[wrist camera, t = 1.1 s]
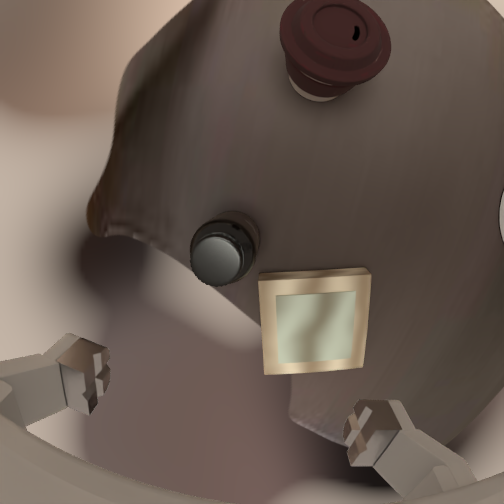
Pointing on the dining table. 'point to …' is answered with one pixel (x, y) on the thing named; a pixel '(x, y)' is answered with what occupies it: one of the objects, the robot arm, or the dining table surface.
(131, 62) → the dining table surface
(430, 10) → the dining table surface
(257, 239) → the supplement bottle
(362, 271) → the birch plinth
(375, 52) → the coffee cup
